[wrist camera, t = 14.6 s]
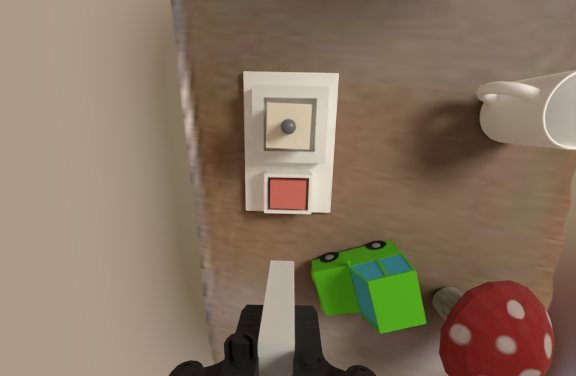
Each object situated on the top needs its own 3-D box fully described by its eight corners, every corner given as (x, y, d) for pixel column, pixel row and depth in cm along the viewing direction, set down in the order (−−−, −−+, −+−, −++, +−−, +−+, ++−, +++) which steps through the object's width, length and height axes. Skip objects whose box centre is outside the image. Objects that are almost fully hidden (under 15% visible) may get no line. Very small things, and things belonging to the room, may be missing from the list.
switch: (271, 177, 39) (270, 180, 37) (305, 178, 39) (306, 181, 37) (271, 204, 40) (270, 208, 38) (304, 204, 40) (305, 209, 38)
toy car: (306, 251, 44) (310, 288, 34) (386, 230, 42) (414, 262, 33) (322, 302, 46) (330, 351, 36) (398, 284, 45) (427, 330, 35)
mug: (442, 118, 38) (496, 117, 28) (474, 60, 36) (544, 37, 26) (514, 151, 39) (590, 161, 29) (549, 96, 37) (644, 87, 27)
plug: (272, 106, 37) (265, 100, 27) (308, 108, 37) (313, 103, 27) (271, 142, 38) (264, 149, 29) (306, 144, 38) (310, 151, 29)
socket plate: (244, 72, 37) (239, 67, 34) (337, 74, 37) (342, 69, 34) (246, 208, 42) (242, 216, 39) (329, 211, 42) (332, 218, 38)
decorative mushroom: (423, 240, 43) (490, 302, 28) (516, 261, 43) (630, 332, 29) (391, 322, 46) (436, 413, 32) (477, 340, 47) (560, 438, 32)
